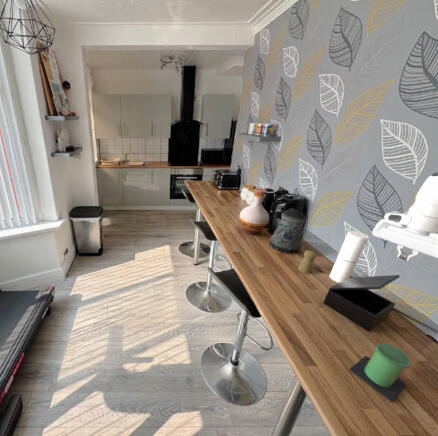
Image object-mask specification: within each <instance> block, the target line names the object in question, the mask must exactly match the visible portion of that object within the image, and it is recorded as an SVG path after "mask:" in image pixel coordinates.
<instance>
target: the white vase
mask: <svg viewBox="0 0 438 436" xmlns="http://www.w3.org/2000/svg"><path fill="white" fill-rule="evenodd" d="M266 194H267V189H265V188H262V187H256V188H254V193H253V196H254V197H253V198H254V200H253V203H250V204H249V205H248V206H246V207H244V208H243V209H242V210H241V211H240V213H239V224H240V227H241V228H242V230H243V231H244V233H246V234H248V235H252V236H253V235H257V234H259V233H261V232H262V231H263V230H264V229H265V228H266V227H267V225H268V224H269V221H270V215H269V212H268V211H267V210H266V209H265V208H264V206H263V205H262V202H263V200H264V198H265V197H266Z"/></svg>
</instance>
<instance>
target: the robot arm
mask: <svg viewBox="0 0 438 436" xmlns="http://www.w3.org/2000/svg"><path fill="white" fill-rule="evenodd" d="M371 233H372V236H373V237H376V238H379V239H382V240H384V241H387V242H390V243H393V244H396V245H397V246H396V249H397V253H398V254H397V256H396V257H397V258H398V259H401V260H404V261H405V262H406V261H407V262H409V261H411V259H412V258H413V257H415V256H417V255H419V254H424V255H427V256H429V257H432V258H435V259H438V171H436V172H434V173H432V174H430V175H429V176H428V177H427V178H426V179H425V181H424V182H423V184H422V185H421V186H420V188H419V189H418V192H417V194H416V195H415V200H414V203H412V205H411V206H410V207H409V208H408V210H393V211H389V212H387V213H385V214H384V217H383V218H382V219H380V220H379V221H378V222H377V223H376V225H375V226H374V228H373V229H372V231H371ZM405 248H407V249H410V250H412V251H411V254H408V253H406V252H404V249H405Z"/></svg>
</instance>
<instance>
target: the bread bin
mask: <svg viewBox="0 0 438 436" xmlns="http://www.w3.org/2000/svg"><path fill="white" fill-rule="evenodd" d="M323 304H324V305H325V306H327V307H328V308H330V309H332V310H333V311H334V312H336V313H338V314H340V315H341V316H342V317H344V318H346V319H347V320H349V321H350V322H352V323H354V324H355V325H357V326H358V327H360V328H362V329H364V330H365V331H367V332H370V331H371V330H374V328H375V327H377V326H378V325H379V324H380V323H382V322H383V321H384V320H386V319H387V318H389V316H390V314H391V312H392V311H393V309H394V307H395V306H396V303H395V302H394V301H392V300H389V299H388V298H386V297H384V296H382V295H380V294H378V293H376V292H374V291H372V290H371V289H354V290H330V289H328V291H327V293H326V295H325V298H324V299H323Z"/></svg>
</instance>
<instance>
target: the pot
mask: <svg viewBox="0 0 438 436" xmlns="http://www.w3.org/2000/svg"><path fill="white" fill-rule="evenodd" d="M369 358H370V360H369V362H368V363H367V365H366V366H365V368H364V371H365V373H366V375H367V376H368V377H369V378H370V379H371V380H372V381H373V382H375V383H376V384H378V385H380V386H382V387H386V388H390V387H392V386H393V384H394V383H395V381H396V380H397V379H399V377H400V376H401V374H403V373H404V371H405V369H407V368H409V367H410V365H411V360H410V358H409V357H408V356H407V354H405V353H404V351H402V350H401V349H400V348H398V347H395V346H393V345H392V344H388V343H384V342H380V343H377V344H376V346H375V350H374V352H373V354H372V355H371V357H369Z"/></svg>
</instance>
